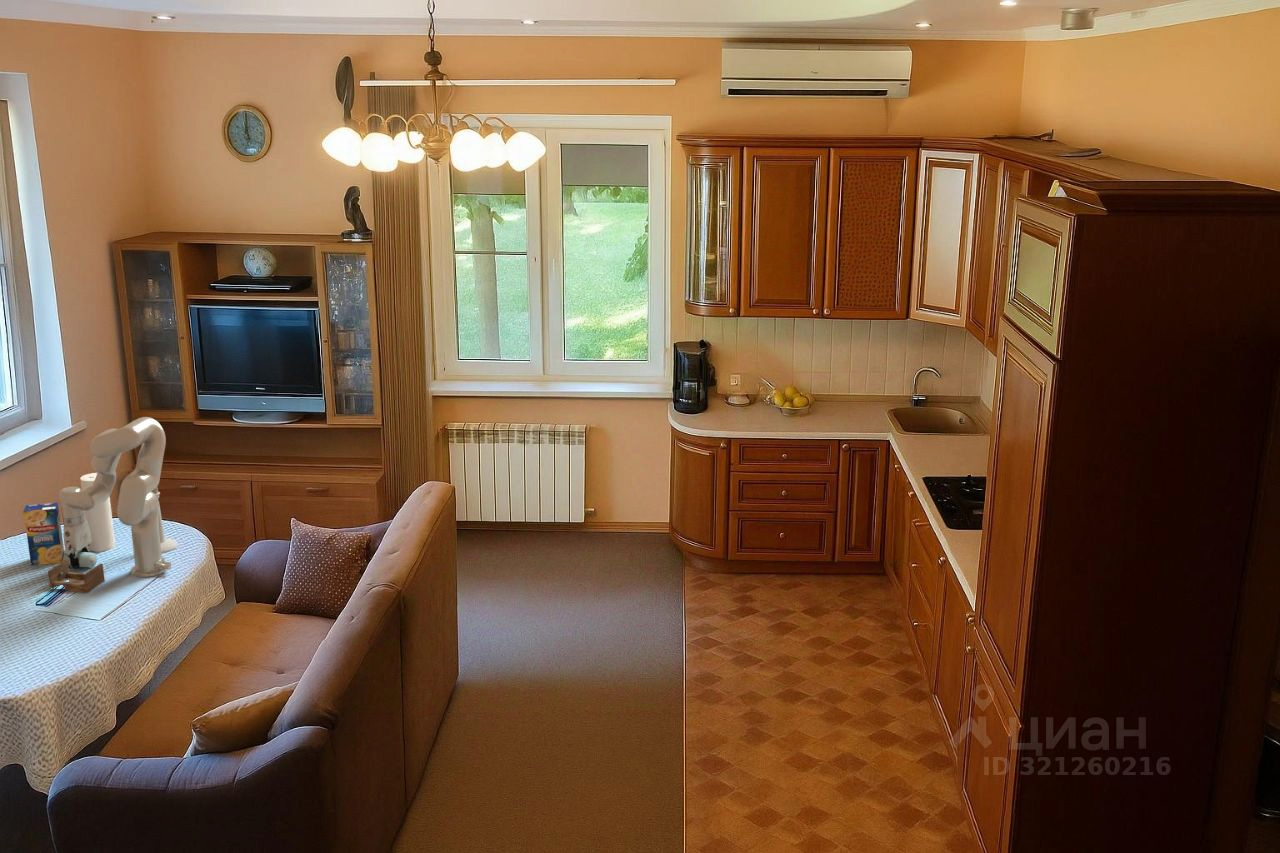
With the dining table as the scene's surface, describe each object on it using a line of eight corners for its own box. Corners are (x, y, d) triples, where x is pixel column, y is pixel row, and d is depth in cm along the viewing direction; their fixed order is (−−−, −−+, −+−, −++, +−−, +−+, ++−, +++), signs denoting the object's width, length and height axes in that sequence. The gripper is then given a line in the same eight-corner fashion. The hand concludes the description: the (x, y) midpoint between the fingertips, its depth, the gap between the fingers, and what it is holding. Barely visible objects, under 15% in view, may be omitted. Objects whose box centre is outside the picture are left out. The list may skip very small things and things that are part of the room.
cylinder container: (119, 543, 446) (111, 472, 437) (106, 552, 437) (98, 480, 428) (97, 541, 447) (89, 470, 438) (84, 550, 438) (75, 478, 429)
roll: (97, 563, 426) (95, 550, 424) (88, 570, 421) (86, 556, 419) (73, 561, 427) (71, 548, 426) (64, 568, 422) (62, 554, 420)
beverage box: (63, 562, 427) (55, 508, 421) (30, 565, 423) (23, 511, 417) (64, 555, 433) (58, 502, 427) (33, 558, 430) (25, 505, 423)
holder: (104, 581, 413) (102, 563, 411) (88, 592, 403) (85, 575, 401) (67, 577, 415) (65, 560, 413) (50, 588, 405) (47, 571, 403)
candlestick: (136, 550, 440) (128, 479, 431) (158, 538, 451) (151, 469, 442) (163, 555, 436) (155, 483, 427) (185, 543, 448) (178, 473, 439)
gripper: (68, 528, 410) (75, 573, 415) (97, 511, 426) (103, 555, 431) (50, 527, 411) (56, 572, 416) (79, 510, 427) (85, 554, 432)
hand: (80, 563), depth 424 cm, fingers closed on roll, 5 cm apart
